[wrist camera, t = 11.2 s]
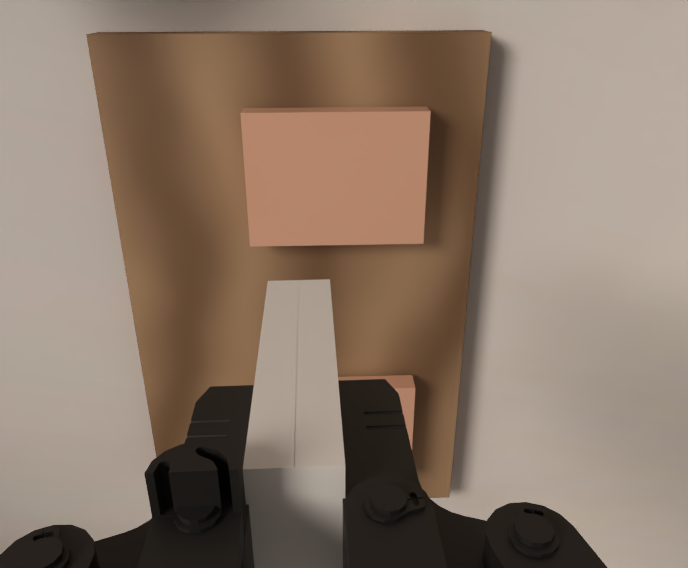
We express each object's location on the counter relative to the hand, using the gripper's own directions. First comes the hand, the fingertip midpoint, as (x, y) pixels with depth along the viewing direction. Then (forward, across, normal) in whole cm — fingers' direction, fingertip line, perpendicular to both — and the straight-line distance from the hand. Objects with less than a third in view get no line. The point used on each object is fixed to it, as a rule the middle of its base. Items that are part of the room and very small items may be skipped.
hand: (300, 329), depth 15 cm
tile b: (+14, -2, 0) cm, 14 cm away
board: (+16, 0, -7) cm, 18 cm away
